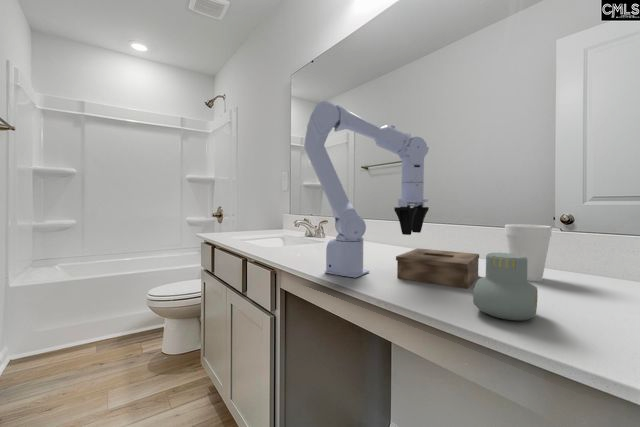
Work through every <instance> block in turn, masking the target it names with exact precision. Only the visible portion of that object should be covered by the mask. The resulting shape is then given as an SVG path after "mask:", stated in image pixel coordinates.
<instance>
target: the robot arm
mask: <svg viewBox="0 0 640 427" xmlns="http://www.w3.org/2000/svg"><path fill="white" fill-rule="evenodd" d="M309 116H310V117H309V119H308V123H307V125H306V132H305V138H304V144H303V146H304V150H305V153H306V155H307V158H308V159H309V161H310V164H311V165H312V168H313V170H314V173H315V174H316V178H317V179H318V182H319V184H320V185H321V188H322V190H323V192H324V194H325V196H326V199H327V202H328V203H329V205H330V207H331V211H332V216H333V218H334V224H335V225H334V228H335V230H336V232H337V235H336V237H335V238H332V239H330V240H329V241H328V242H327V244H326V250H325V252H326V255H325V260H326V261H325V262H326V264H325V265H326V266H325V267H326V268H325V270H324V273H325V274H330V275H336V276H344V277H348V278H349V277H350V278H358V277H361V276H363V275H365V274H368V273H370V270H369V269H364V237H363V236H364V235H365V232H366V230H367V226H366V222H365V221H364V219H363V218H362V217H361V216H360V215H359V214H358V213H357V211H356V208H355V207H354V206H353V204H352V203H351V202H350V200H349V198H348V196H347V193H346V192H345V190H344V187H343V184H342V181H341V180H340V178H339V175H338V174H337V171H336V169H335V166H334V165H333V162H332V159H331V157H330V155H329V154H328V151H327V149H326V146H325V145H326V144H325V143H326V142H327V139H328V137H329V134H330V132H331V131H332V130H333V128H334V132H335V133H336V132H339V131H343V130H349V131H351V132H354V133H357V134H359V135H362V136H365V137H366V138H370V139H372V140H374V141H375V144H376V146H377V147H379V148H381V149H384V150H386V151H388V152H391V153H393V154H396V155H397V156H398V157H399V158H400V159H401V185H400V186H401V189H400V190H401V194H400V195H401V196H400V198H398V199H397V200H398V201H397V203H398V206H397V207H396V206H395V207H394V208H393V209H394V212H395V214H396V215H397V218H398V222H399V226H400V230H401V234H402V235H403V236H404V235H405V236H412V233H417V234H421V232H422V228H423V224H424V220H425V217H426V215H427V213H428V212H429V207H428V206H425V203H429V199H425V198H424V190H425V189H424V182H425V179H424V178H425V172H424V171H425V157H426V156H427V155H428V153H429V149H430V148H429V146H428V145H427V142H426V141H425V140H424V138H422V137H420V136H412V134H411V133H409V132H407V133H405V132H403V131H400V130H398V129H396V126H395V125H393V124H390V125H386V124H385V125H384V126H381V127H380V126H378V125H377V124H374V123H372V122H370V121H369V120H366V119H364V118H363V117H360V116H359V115H357V114H355V113H353V112H351V111H350V110H348V109H347V108H345V107H343V106H342V105H338V104H336V105H335V103H333V102H331V101H328V100H326V101H320V102H319V103H318V104H317V105H316V106H315V107H314V108H313V110H312V112H311V115H309Z"/></svg>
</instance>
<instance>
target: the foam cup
mask: <svg viewBox="0 0 640 427" xmlns="http://www.w3.org/2000/svg"><path fill="white" fill-rule="evenodd" d="M504 235H505V238H506V239H505V240H506V247H507V253H511V254H518V255H523V256H525V257H526V258H527V282H529V281H530V282H541V281H542V280H543V277H544V272H545V267H546V261H547V256H548V249H549V246H550V240H551V237H552V226H551V225H540V224H505V225H504Z"/></svg>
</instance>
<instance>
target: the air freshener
mask: <svg viewBox="0 0 640 427" xmlns="http://www.w3.org/2000/svg"><path fill="white" fill-rule="evenodd" d="M472 294H473V295H472V301H473V305H474V306H475V307H476V308H477V309H479V310H480V311H481V312H483V313H485V314H487V315H489V316H491V317H494V318H497V319H501V320H508V321H518V322H519V321H521V322H523V321H526V320H531V319H534V318H535V317H536V314H537V311H538V310H537V308H538V287H537V286H536V285H534V284H532V283H531V282H529V281H527V258H526V257H525V256H523V255H518V254H511V253H508V252H490V253H487V254H486V256H485V277H482V278H478V279H477V280H476V282H475V284H474V288H473V293H472Z"/></svg>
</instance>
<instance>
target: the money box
mask: <svg viewBox="0 0 640 427" xmlns="http://www.w3.org/2000/svg"><path fill="white" fill-rule="evenodd" d="M479 259H480V253H471V252H464V251H463V252H462V251H451V250H439V249H428V248H415V249H411V250H409V251H406V252H404V253H401V254H398V255H396V256H395V261H397V264H396V265H397V266H396V267H397V270H396V271H397V273H396V274H397V276H396V278H397V279H404V280H410V281H417V282H422V283H423V282H424V283H431V284H436V285H442V286H448V287H449V286H450V287H456V288H461V289H462V288H463V289H469V288H470V286H471V285H472V284H473V283H474V281H476V279H477V278H478V277H479Z"/></svg>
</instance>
